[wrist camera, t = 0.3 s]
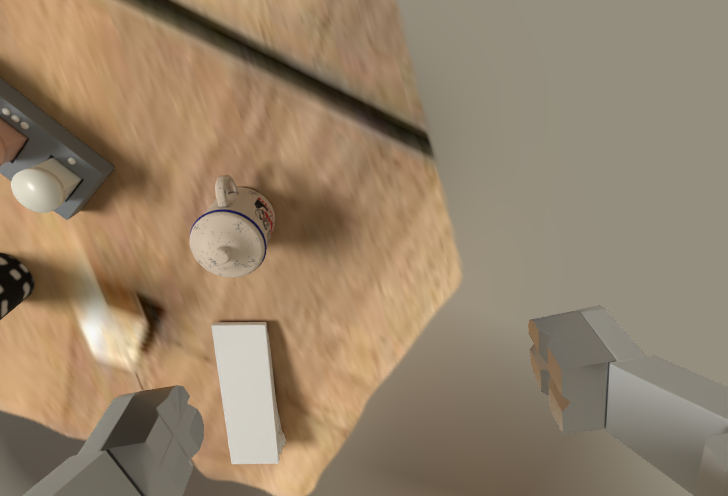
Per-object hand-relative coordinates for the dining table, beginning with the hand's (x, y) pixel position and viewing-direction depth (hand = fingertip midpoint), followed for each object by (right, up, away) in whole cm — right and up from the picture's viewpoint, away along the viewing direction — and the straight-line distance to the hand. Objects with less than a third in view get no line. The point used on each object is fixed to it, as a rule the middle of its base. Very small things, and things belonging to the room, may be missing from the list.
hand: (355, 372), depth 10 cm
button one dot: (-38, +12, +44) cm, 59 cm away
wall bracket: (-19, -20, +65) cm, 71 cm away
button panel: (-42, +17, +44) cm, 63 cm away
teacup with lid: (-16, +9, +49) cm, 52 cm away
